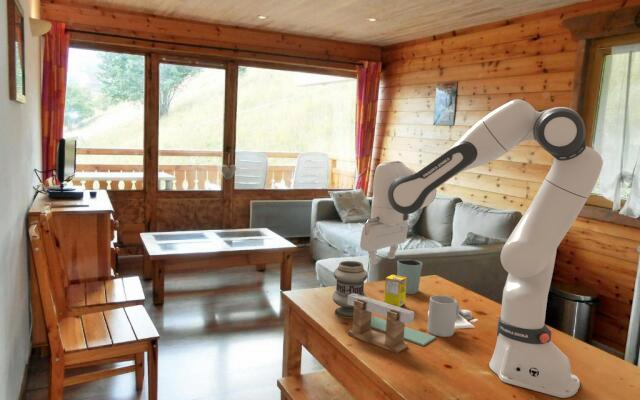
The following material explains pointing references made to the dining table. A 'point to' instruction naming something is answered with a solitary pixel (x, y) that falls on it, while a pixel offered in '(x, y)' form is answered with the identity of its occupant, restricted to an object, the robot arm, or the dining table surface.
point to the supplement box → (395, 290)
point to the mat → (409, 333)
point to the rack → (363, 332)
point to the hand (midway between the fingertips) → (382, 261)
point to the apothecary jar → (348, 285)
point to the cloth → (463, 319)
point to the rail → (382, 308)
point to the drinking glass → (410, 273)
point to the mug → (442, 315)
